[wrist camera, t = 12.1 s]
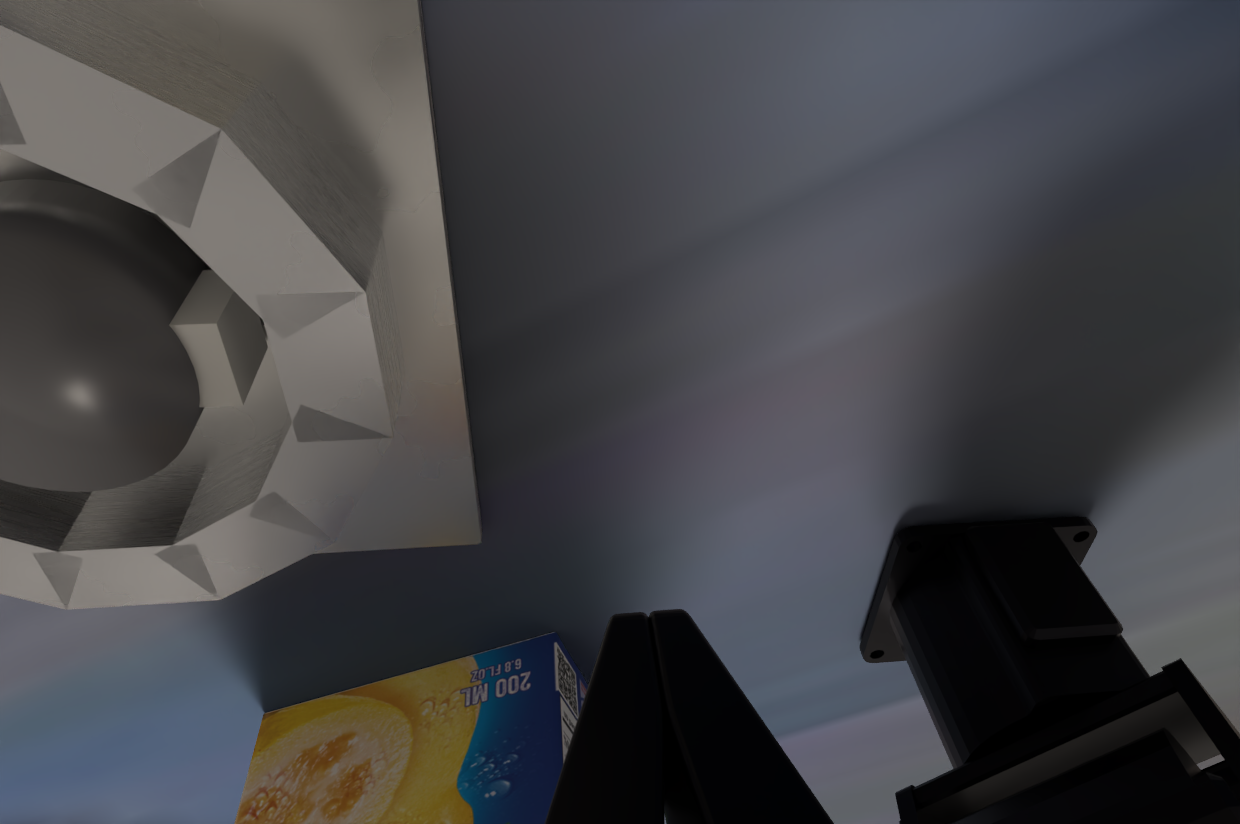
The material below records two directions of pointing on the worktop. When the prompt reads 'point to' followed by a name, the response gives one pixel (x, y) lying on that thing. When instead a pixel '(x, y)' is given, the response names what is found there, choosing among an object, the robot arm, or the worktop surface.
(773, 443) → the worktop surface
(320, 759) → the beverage box
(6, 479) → the cap
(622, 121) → the worktop surface
